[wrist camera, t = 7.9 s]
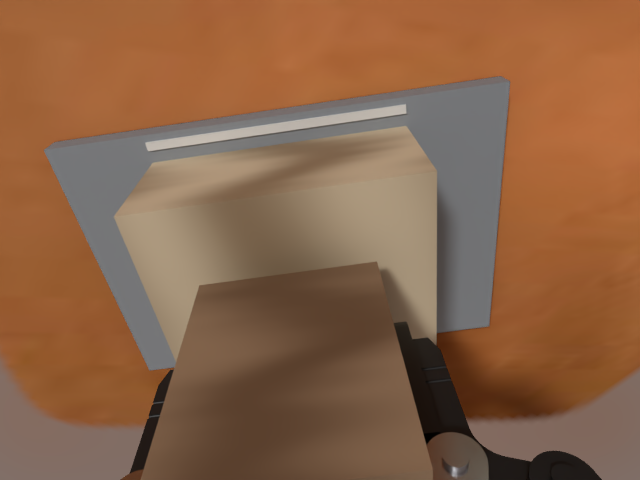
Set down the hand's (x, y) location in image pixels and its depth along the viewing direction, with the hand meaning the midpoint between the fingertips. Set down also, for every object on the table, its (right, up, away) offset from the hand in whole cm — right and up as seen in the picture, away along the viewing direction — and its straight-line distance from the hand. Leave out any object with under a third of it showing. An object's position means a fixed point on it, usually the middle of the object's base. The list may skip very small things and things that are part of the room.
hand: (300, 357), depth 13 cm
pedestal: (0, +3, +5) cm, 6 cm away
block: (0, 0, +1) cm, 1 cm away
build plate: (0, +3, +6) cm, 7 cm away
